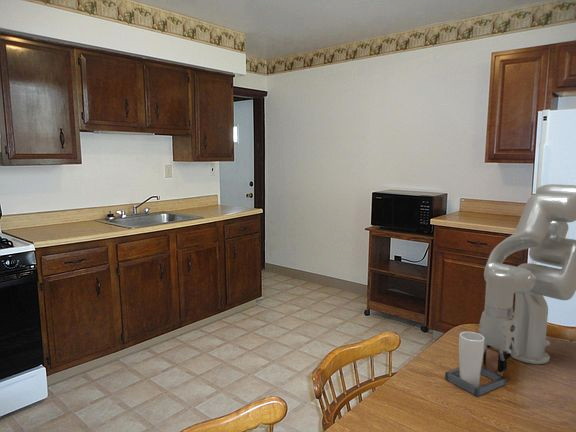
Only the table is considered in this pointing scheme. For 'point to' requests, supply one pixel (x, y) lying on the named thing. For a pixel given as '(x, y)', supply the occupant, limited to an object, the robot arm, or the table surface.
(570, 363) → the table surface
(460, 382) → the frame
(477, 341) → the drinking glass
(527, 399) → the table surface
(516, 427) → the table surface
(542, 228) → the robot arm
